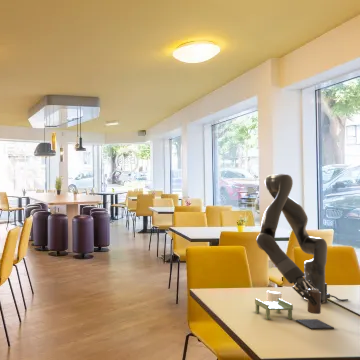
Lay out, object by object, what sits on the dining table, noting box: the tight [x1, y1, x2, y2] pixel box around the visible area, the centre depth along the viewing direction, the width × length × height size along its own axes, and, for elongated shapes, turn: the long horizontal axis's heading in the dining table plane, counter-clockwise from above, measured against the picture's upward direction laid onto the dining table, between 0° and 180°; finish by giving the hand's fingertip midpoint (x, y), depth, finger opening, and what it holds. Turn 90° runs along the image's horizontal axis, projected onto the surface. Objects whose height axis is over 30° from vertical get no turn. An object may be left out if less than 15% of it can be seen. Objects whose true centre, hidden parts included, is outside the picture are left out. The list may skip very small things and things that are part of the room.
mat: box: [295, 318, 335, 330], centre depth 169 cm, size 10×10×1 cm
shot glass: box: [265, 289, 283, 302], centre depth 195 cm, size 7×7×7 cm
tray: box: [254, 298, 294, 320], centre depth 180 cm, size 12×10×7 cm
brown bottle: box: [307, 288, 322, 315], centre depth 169 cm, size 5×5×10 cm
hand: (318, 303), depth 167 cm, fingers closed on brown bottle, 5 cm apart
